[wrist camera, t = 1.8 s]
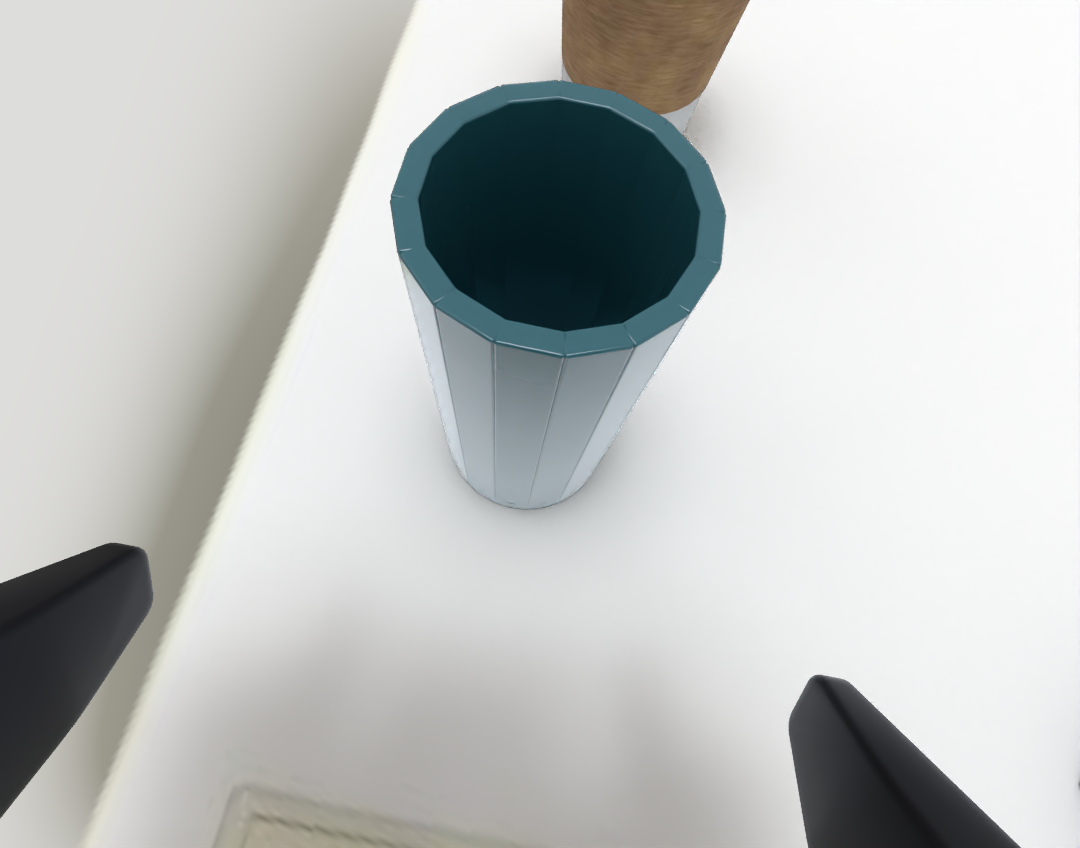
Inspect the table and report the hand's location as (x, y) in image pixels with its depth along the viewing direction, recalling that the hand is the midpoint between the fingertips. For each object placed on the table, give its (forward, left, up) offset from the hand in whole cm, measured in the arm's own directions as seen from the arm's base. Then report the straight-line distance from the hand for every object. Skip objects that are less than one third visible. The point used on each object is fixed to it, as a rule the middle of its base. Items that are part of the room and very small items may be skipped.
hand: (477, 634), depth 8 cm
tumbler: (+7, +3, -13) cm, 15 cm away
